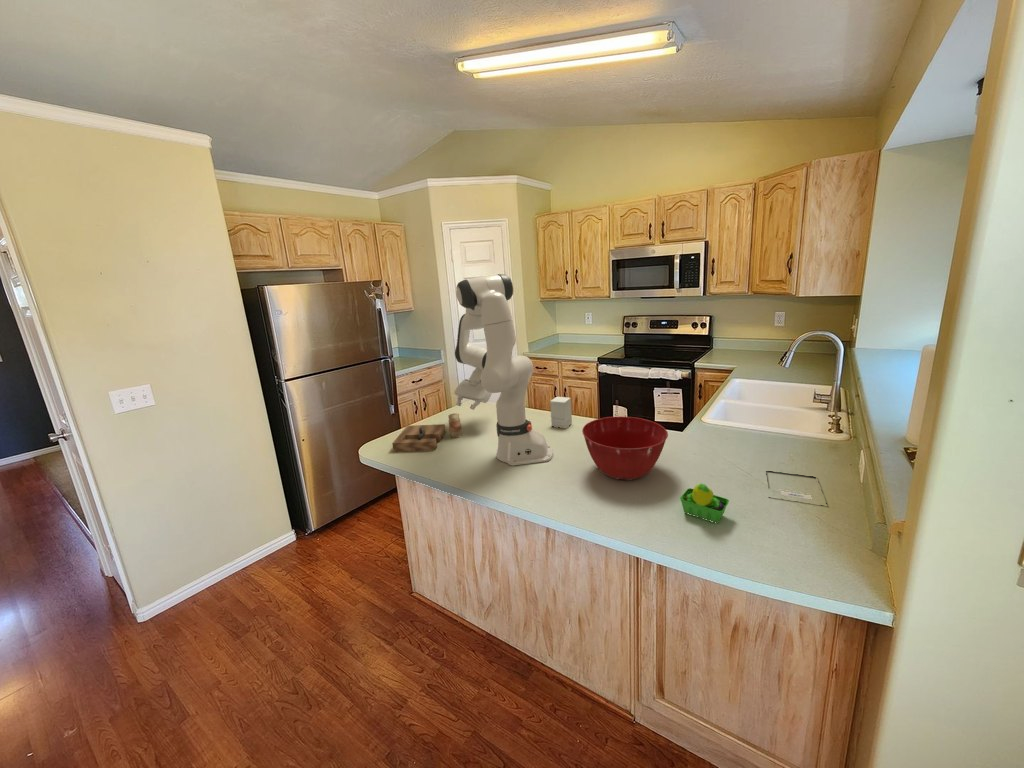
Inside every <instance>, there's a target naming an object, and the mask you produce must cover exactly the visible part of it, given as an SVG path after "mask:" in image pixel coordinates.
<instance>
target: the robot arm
mask: <svg viewBox="0 0 1024 768" xmlns="http://www.w3.org/2000/svg"><path fill="white" fill-rule="evenodd" d="M513 295H514V286H513V282H512V279H511V277H510V276H509V275H507V274H503V273H502V274H501V273H499V274H496V275H495V274H493V275H480V276H476V277H472V278H469V279H463V280H461V281H459V282H457V284H456V289H455V297H456V299H457V301H458V303H459V305H460V306H461V307H463V308H465V313H464V314H463V315H462V316H461V317H460V318H459V319H460V320H459V323H458V330H457V339H456V347H455V349H454V357H455V359H456V361H457V362H458V363H459V364H463V365H468V366H471V367H473V368H475V369H474V370H473V371H472V373H471V374H470V377H469V378H465V379H464V380H461V382H460V383H459V384H458V385H457V386H456V388H455V390H454V395H455V396H457V402H456V403H455V404H456V405H457V407H461V406H462V404H463V403H462V400H463V399H466V400H470V401H473V403H472V404H470V406H469V409H471V410H475V409H476V407H478V406H479V405H480V404H481V403H482V404H486V403H488V402H489V400H490V398H491V396H492V394H496V393H500V394H499V397H498V399H497V401H496V403H495V408H496V409H495V410H496V421H497V422H496V425H495V426H496V435H497V438H498V439H497V449H496V455H495V456H496V458H497V460H499V461H500V462H504V463H506V464H508V465H509V466H521V465H527V464H537V463H545V462H549V461H550V460H552V458H554V451H553V447H552V446H551V445H549V444H548V443H547V441H546V438H545V436H544V435H543V434H541V433H540V432H538V431H536V430H535V429H533V426H532V422H531V419H529V420H528V419H526V418H527V417H526V395H527V392H528V391H527V389H528V386H529V382H530V379H531V377H532V376H533V373H534V371H535V370H534V369H535V368H534V363H533V362H532V360H531V359H530V358H529V357H528V356H526V355H513V351H514V350H513V349H514V346H515V345H516V341H517V337H516V331H515V326H514V321H513V317H512V313H511V309H510V305H509V303H508V301H509V300H511V299H512V297H513ZM481 329H483V332H484V336H485V337H484V338H485V343H486V348H484V347H482V346H479V345H476V344H473V343H472V342H470V334H471V333H470V332H471V330H481Z"/></svg>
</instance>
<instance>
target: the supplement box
mask: <svg viewBox="0 0 1024 768" xmlns="http://www.w3.org/2000/svg"><path fill="white" fill-rule="evenodd" d="M549 403H550V418H551V419H550V420H551V427H552V426H554V427H553V428H558V427H560V428H559V429H565V428H566V429H567V428H569V425H570V424H571V423H572V424H573V418H572V417H573V416H572V415H573V414H572V412H573V411H572V398H571V397H565V396H556V397H554V398H552V399H551V400H550V401H549ZM572 424H571V425H572ZM571 425H570V426H571Z"/></svg>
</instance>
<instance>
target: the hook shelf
mask: <svg viewBox="0 0 1024 768" xmlns="http://www.w3.org/2000/svg"><path fill="white" fill-rule="evenodd" d="M445 432H446V424H445V423H442V424H441V423H439V424H420V425H419V424H418V425H406V426H405V428H404V429H403V430H402V431H401V432H400V434H398V435H397V437H396V438H395V439H394V441H393V442H392V443H391V444H392V445H391V446H392V451H393V452H394V453H399V452H398V451H408V452H425V451H424V450H435V449H436V450H437V448H438V445H437V443H440V442H442V439H443V438H444V436H445V435H446V433H445ZM442 437H443V438H442ZM421 450H422V451H421ZM436 450H435V451H436Z"/></svg>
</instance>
